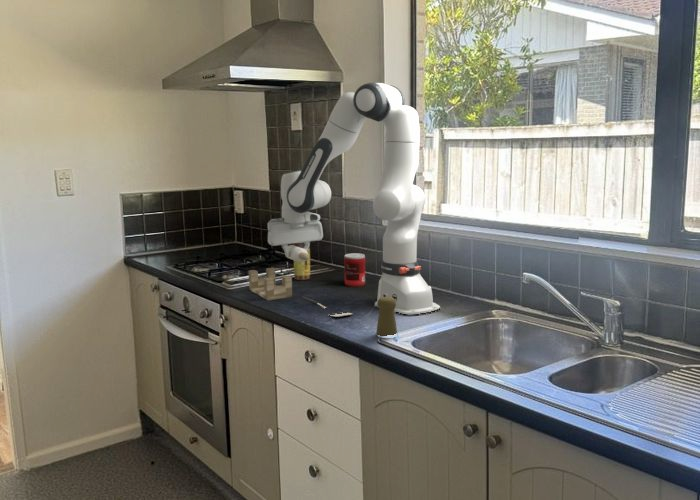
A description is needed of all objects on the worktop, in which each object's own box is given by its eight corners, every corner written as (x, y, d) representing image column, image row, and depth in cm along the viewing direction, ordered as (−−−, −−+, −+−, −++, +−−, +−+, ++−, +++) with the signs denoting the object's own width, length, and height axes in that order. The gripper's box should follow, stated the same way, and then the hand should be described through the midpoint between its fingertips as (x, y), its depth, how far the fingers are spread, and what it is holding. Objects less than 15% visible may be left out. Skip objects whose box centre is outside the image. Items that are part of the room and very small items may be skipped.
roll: (313, 262, 233) (311, 248, 232) (300, 265, 231) (298, 251, 230) (294, 256, 247) (292, 242, 246) (281, 258, 245) (280, 244, 244)
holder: (292, 297, 231) (291, 277, 230) (267, 300, 227) (267, 280, 225) (272, 286, 246) (271, 267, 245) (249, 289, 242) (248, 270, 241)
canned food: (361, 281, 253) (361, 252, 251) (368, 285, 246) (368, 256, 244) (341, 282, 251) (341, 253, 249) (348, 287, 243) (348, 258, 241)
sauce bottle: (307, 281, 254) (306, 229, 250) (292, 280, 255) (290, 228, 251) (312, 277, 260) (311, 226, 256) (296, 276, 261) (295, 226, 258)
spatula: (336, 321, 205) (336, 316, 204) (295, 299, 230) (295, 295, 229) (353, 318, 208) (353, 313, 207) (311, 297, 233) (311, 293, 232)
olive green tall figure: (398, 338, 186) (399, 300, 184) (377, 339, 186) (377, 300, 184) (395, 331, 192) (395, 294, 190) (374, 332, 192) (374, 295, 189)
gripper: (270, 220, 229) (272, 260, 231) (324, 215, 238) (325, 253, 241) (263, 218, 234) (265, 257, 236) (316, 213, 244) (317, 250, 246)
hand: (296, 255), depth 239 cm, fingers closed on roll, 5 cm apart
